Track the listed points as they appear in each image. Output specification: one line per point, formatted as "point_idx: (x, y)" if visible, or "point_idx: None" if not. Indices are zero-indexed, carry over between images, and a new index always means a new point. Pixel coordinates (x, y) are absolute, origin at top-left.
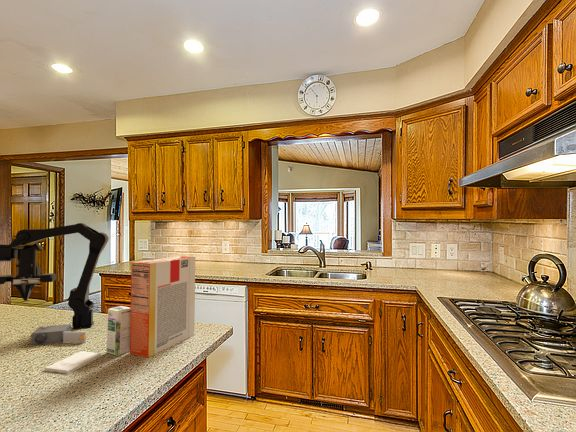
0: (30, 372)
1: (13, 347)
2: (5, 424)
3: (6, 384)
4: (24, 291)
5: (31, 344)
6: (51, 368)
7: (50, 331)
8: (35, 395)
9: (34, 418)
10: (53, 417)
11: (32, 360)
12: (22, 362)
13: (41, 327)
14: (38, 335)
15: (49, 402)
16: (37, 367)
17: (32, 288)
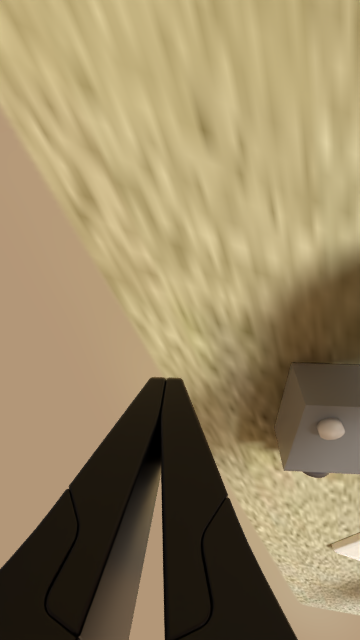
0: (306, 542)
1: (221, 429)
2: (300, 602)
3: (275, 558)
4: (133, 563)
5: (276, 429)
6: (347, 556)
7: (357, 471)
8: (324, 582)
9: (328, 603)
10: (347, 606)
11: (300, 508)
12: (280, 510)
13: (315, 417)
14: (310, 473)
15: (343, 593)
16: (316, 532)
17: (265, 599)
